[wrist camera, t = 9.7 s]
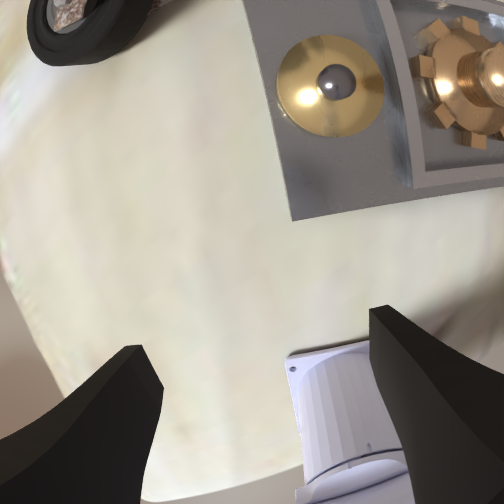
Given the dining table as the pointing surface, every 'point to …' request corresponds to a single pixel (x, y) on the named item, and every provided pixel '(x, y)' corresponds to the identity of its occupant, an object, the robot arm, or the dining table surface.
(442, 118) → the gear
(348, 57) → the carrier
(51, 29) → the caster wheel
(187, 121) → the dining table surface
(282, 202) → the dining table surface
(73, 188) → the dining table surface
